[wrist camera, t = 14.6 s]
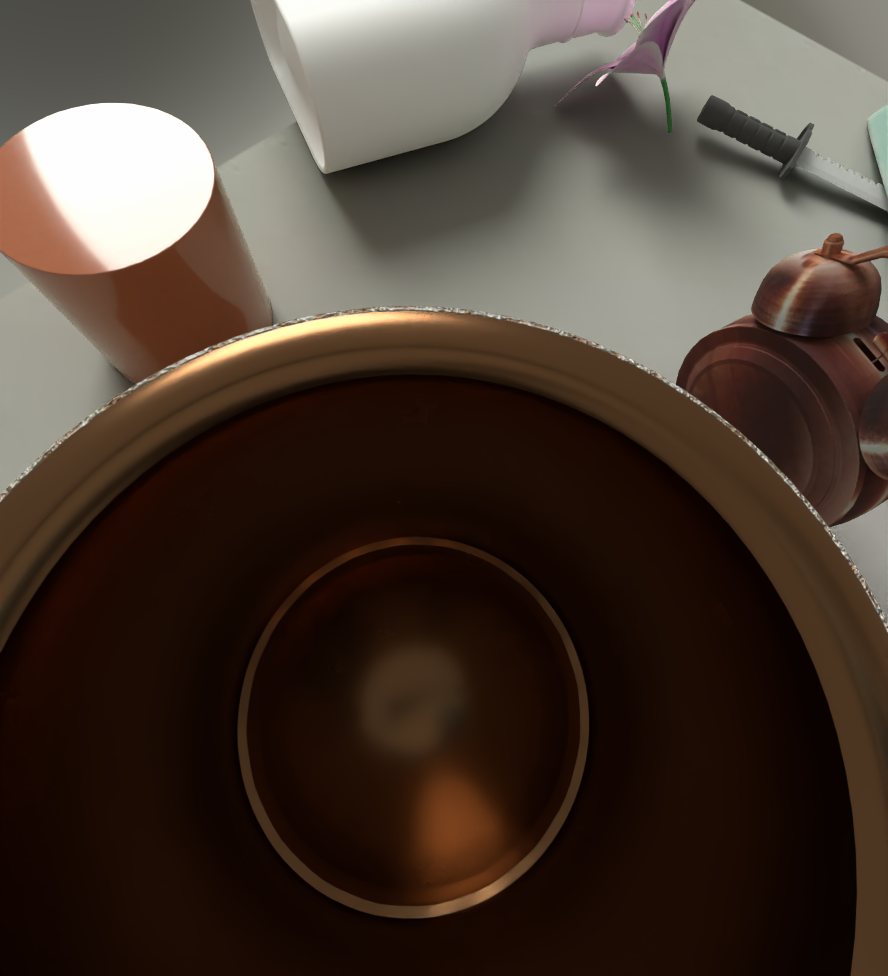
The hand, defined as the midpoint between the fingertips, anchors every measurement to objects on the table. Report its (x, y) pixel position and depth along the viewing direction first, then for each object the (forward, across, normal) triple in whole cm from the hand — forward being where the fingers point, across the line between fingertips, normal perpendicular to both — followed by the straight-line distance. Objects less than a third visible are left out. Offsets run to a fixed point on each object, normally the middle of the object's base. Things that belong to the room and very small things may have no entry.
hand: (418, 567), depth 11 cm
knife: (+33, +28, +10) cm, 44 cm away
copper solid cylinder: (+25, -14, +1) cm, 29 cm away
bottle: (+41, +2, +17) cm, 44 cm away
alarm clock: (+19, +18, -6) cm, 26 cm away
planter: (+1, 0, -5) cm, 5 cm away
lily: (+40, +15, +15) cm, 45 cm away
